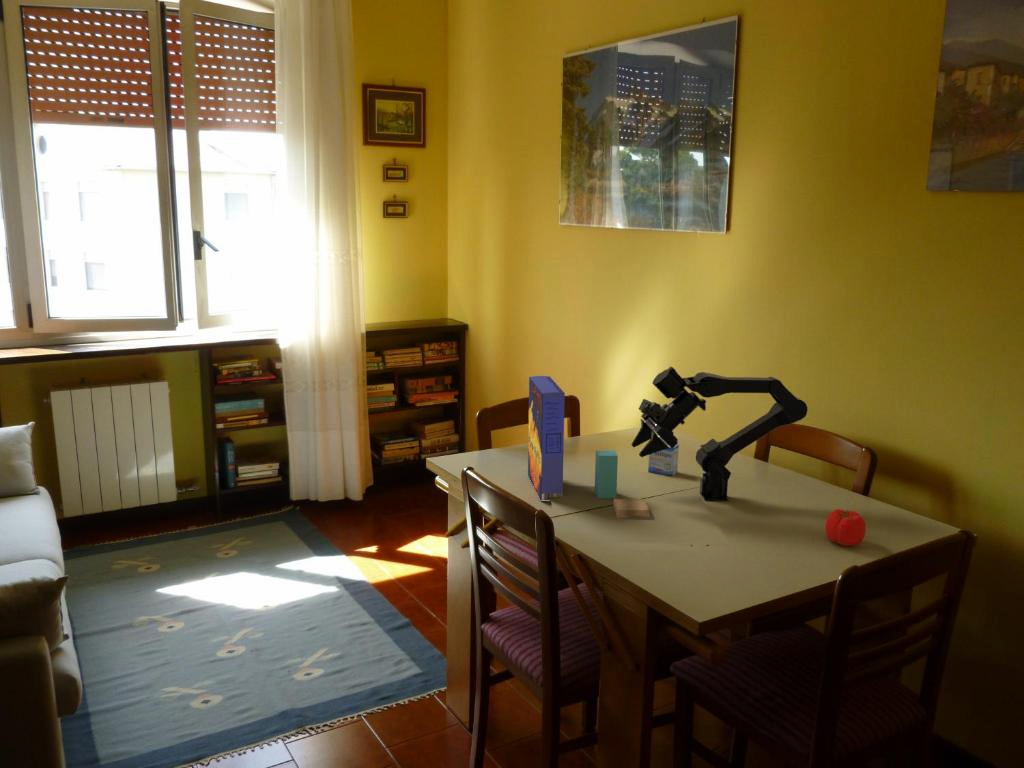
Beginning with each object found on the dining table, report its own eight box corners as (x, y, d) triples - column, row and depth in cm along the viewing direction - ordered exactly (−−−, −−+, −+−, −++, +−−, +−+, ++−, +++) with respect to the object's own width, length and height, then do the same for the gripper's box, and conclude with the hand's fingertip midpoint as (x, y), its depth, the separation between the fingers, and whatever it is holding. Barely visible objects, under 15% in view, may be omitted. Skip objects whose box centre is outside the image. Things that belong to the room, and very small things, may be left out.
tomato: (824, 533, 206) (827, 504, 205) (863, 538, 203) (866, 509, 201) (823, 547, 198) (826, 517, 196) (864, 553, 194) (867, 522, 193)
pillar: (612, 495, 232) (614, 450, 229) (616, 502, 227) (617, 455, 224) (594, 496, 231) (595, 450, 229) (597, 502, 226) (599, 455, 224)
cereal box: (528, 476, 248) (529, 375, 242) (548, 475, 249) (549, 375, 242) (540, 501, 227) (542, 392, 220) (562, 500, 228) (564, 391, 221)
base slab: (647, 512, 221) (647, 505, 221) (653, 526, 212) (653, 519, 211) (608, 512, 221) (608, 505, 221) (613, 526, 212) (613, 519, 211)
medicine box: (647, 472, 253) (648, 444, 251) (652, 468, 256) (653, 440, 255) (673, 476, 249) (674, 447, 247) (677, 472, 253) (679, 444, 251)
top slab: (644, 506, 220) (644, 499, 220) (649, 517, 212) (649, 509, 212) (613, 506, 220) (613, 499, 220) (617, 517, 212) (617, 509, 212)
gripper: (649, 382, 233) (609, 422, 234) (667, 397, 215) (623, 440, 216) (676, 409, 235) (636, 448, 237) (696, 426, 217) (652, 469, 218)
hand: (636, 450), depth 227 cm, fingers open, 9 cm apart
